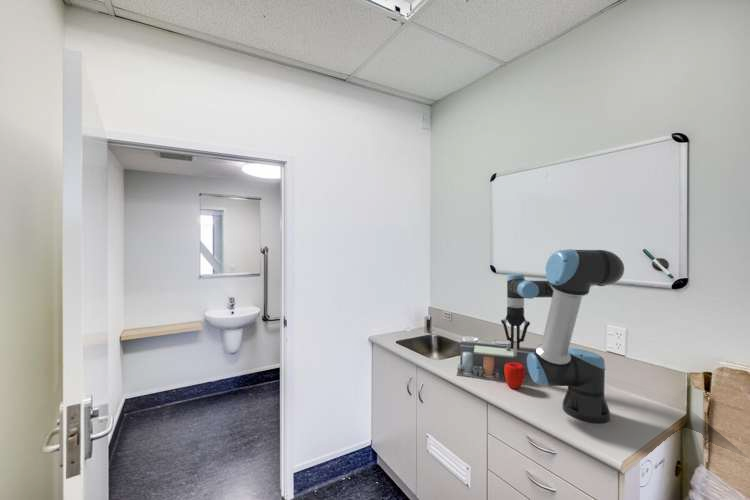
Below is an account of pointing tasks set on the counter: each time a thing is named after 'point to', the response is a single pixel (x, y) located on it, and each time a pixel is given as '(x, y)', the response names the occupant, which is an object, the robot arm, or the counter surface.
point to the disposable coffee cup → (501, 342)
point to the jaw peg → (488, 365)
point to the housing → (474, 362)
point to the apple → (514, 374)
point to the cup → (471, 339)
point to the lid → (494, 351)
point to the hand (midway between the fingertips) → (514, 355)
